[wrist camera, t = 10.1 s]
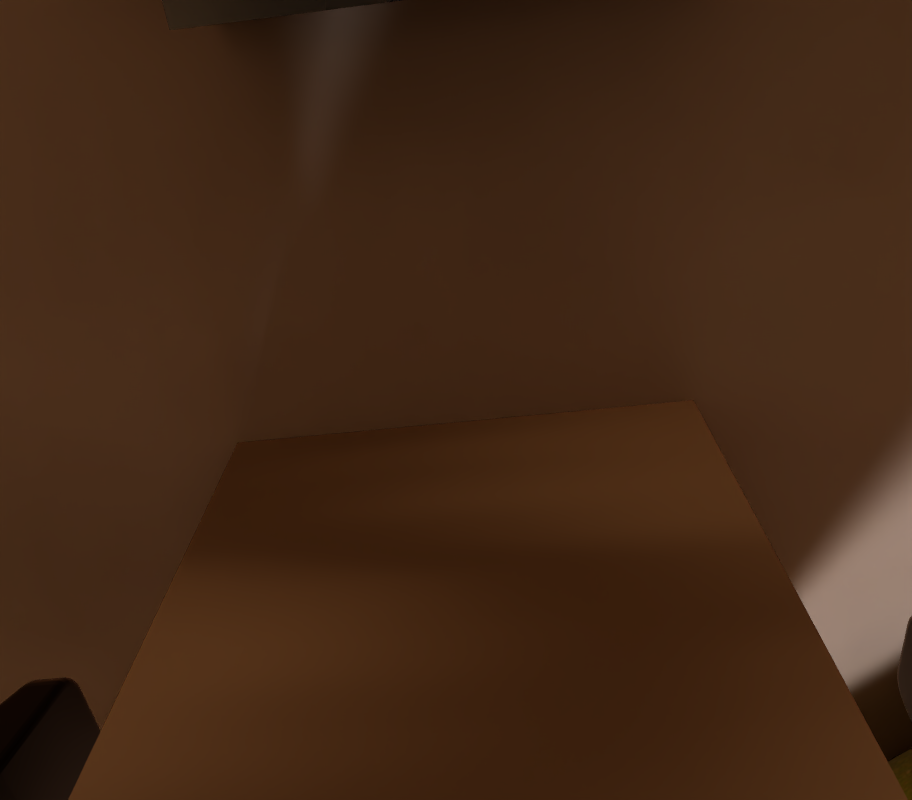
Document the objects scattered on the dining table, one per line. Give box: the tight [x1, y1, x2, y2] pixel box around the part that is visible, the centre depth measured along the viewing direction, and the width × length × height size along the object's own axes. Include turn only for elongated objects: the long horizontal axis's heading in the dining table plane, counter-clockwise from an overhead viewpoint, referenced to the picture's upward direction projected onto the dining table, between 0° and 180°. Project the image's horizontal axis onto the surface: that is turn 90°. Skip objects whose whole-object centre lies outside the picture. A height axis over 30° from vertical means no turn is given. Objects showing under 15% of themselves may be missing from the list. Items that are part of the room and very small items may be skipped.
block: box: [68, 400, 908, 800], centre depth 7 cm, size 4×4×5 cm
